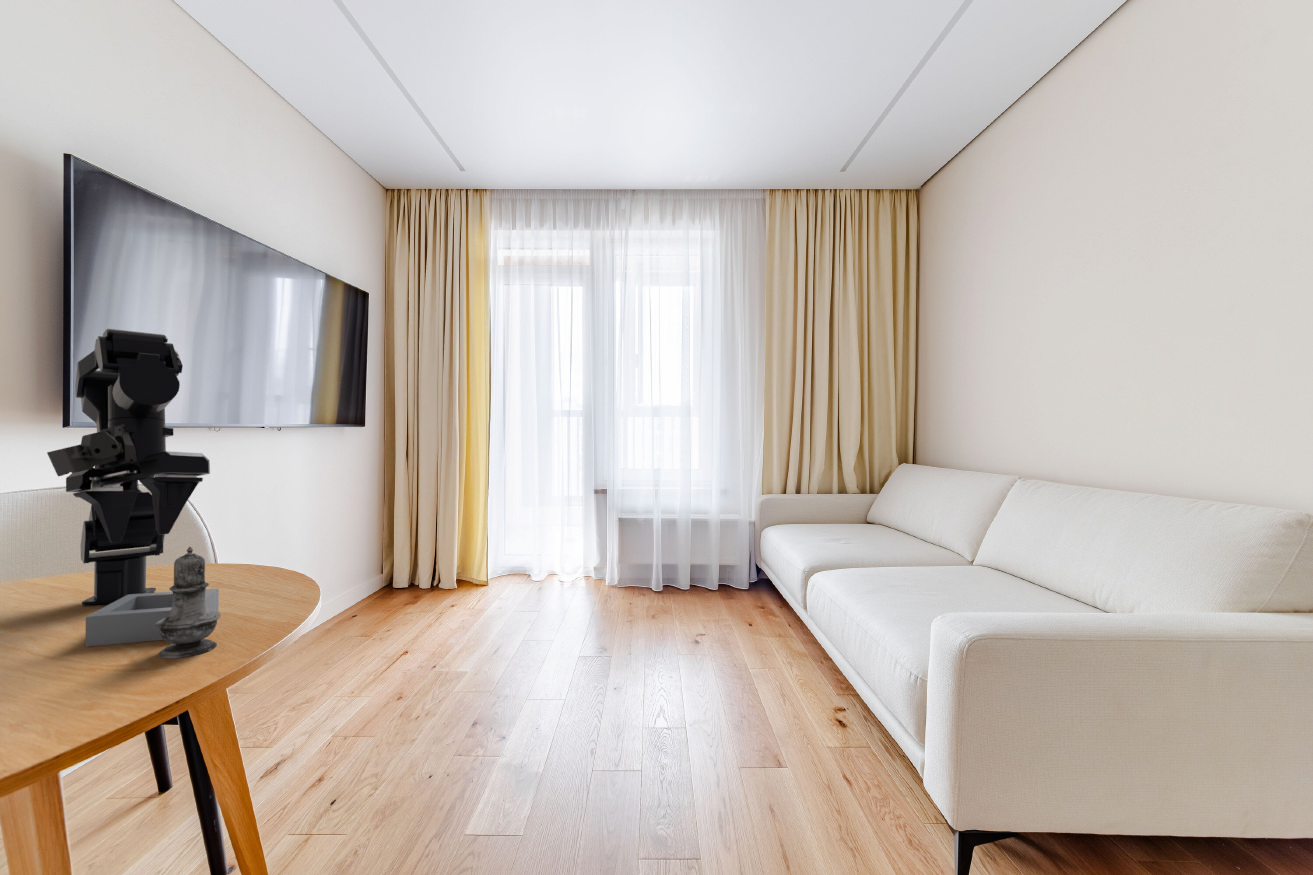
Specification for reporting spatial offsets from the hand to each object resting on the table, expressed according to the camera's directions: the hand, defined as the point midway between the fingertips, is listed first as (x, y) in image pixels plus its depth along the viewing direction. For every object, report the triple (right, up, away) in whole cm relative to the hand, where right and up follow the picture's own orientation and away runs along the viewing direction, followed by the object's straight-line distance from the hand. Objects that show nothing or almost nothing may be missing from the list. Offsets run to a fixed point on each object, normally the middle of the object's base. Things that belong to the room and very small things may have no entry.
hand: (139, 538), depth 76 cm
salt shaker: (+14, -12, -9) cm, 20 cm away
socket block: (+4, -11, -2) cm, 12 cm away
